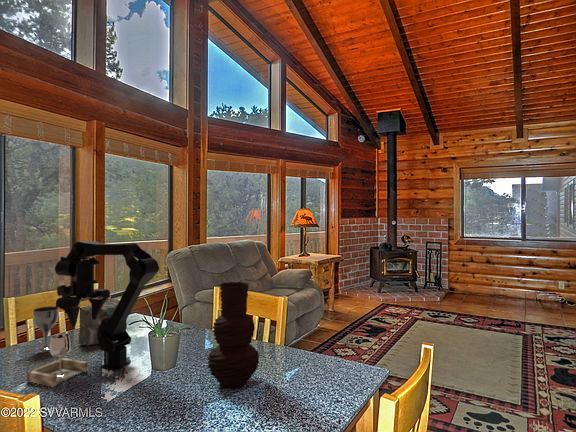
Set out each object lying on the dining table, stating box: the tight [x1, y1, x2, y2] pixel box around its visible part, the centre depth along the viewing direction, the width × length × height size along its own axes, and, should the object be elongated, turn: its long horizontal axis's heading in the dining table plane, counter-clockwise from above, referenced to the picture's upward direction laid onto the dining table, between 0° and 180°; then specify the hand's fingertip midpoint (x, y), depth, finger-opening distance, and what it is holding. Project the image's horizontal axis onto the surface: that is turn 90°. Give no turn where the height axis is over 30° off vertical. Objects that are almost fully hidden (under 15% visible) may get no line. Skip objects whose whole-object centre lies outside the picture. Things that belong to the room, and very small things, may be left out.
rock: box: [77, 298, 120, 346], centre depth 157 cm, size 21×16×10 cm
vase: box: [207, 281, 260, 391], centre depth 116 cm, size 15×15×30 cm
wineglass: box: [49, 333, 72, 378], centre depth 120 cm, size 6×6×12 cm
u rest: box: [26, 357, 89, 388], centre depth 120 cm, size 10×12×3 cm
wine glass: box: [32, 305, 60, 351], centre depth 144 cm, size 8×8×15 cm
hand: (84, 322), depth 133 cm, fingers open, 9 cm apart
